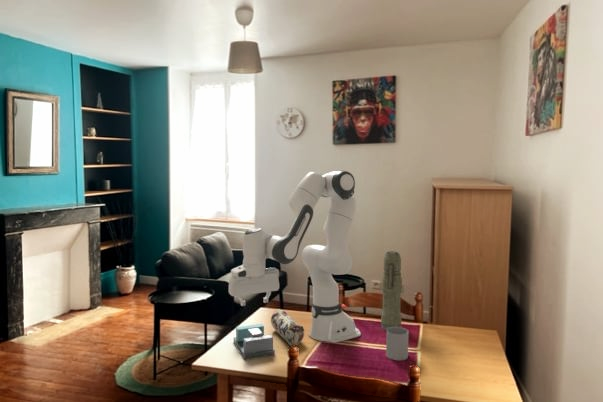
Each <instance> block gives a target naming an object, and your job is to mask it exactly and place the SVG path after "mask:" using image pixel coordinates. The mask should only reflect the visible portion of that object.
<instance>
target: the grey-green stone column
mask: <svg viewBox="0 0 603 402" xmlns="http://www.w3.org/2000/svg"><path fill="white" fill-rule="evenodd" d="M400 254H401V253H400V252H398V251H392V250H391V251H387V252H385V255H384V256H383V276H382V278H381V291H382V313H381V318H380V323H381V330H383V331H384V332H387V328H389V327H402V315H401V295H402V292H403V289H402V288H403V278H402V275H401V273H402V272H401V270H402V259H401V255H400Z"/></svg>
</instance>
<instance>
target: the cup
mask: <svg viewBox="0 0 603 402" xmlns="http://www.w3.org/2000/svg"><path fill="white" fill-rule="evenodd" d="M385 336H386V342H385V343H386V344H385V346H386V347H385V356H386V357H387V358H388V359H390V360H394V361H405V360H407V359H408V357H409V330H408V329H407V328H404V327H402V326H401V327H389V328H387V331H386V335H385Z"/></svg>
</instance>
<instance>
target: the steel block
mask: <svg viewBox="0 0 603 402" xmlns="http://www.w3.org/2000/svg"><path fill="white" fill-rule="evenodd" d="M258 336H262V332H261V331H260V330H259V329H258V328H253V329H248V338H251V337H258Z"/></svg>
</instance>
